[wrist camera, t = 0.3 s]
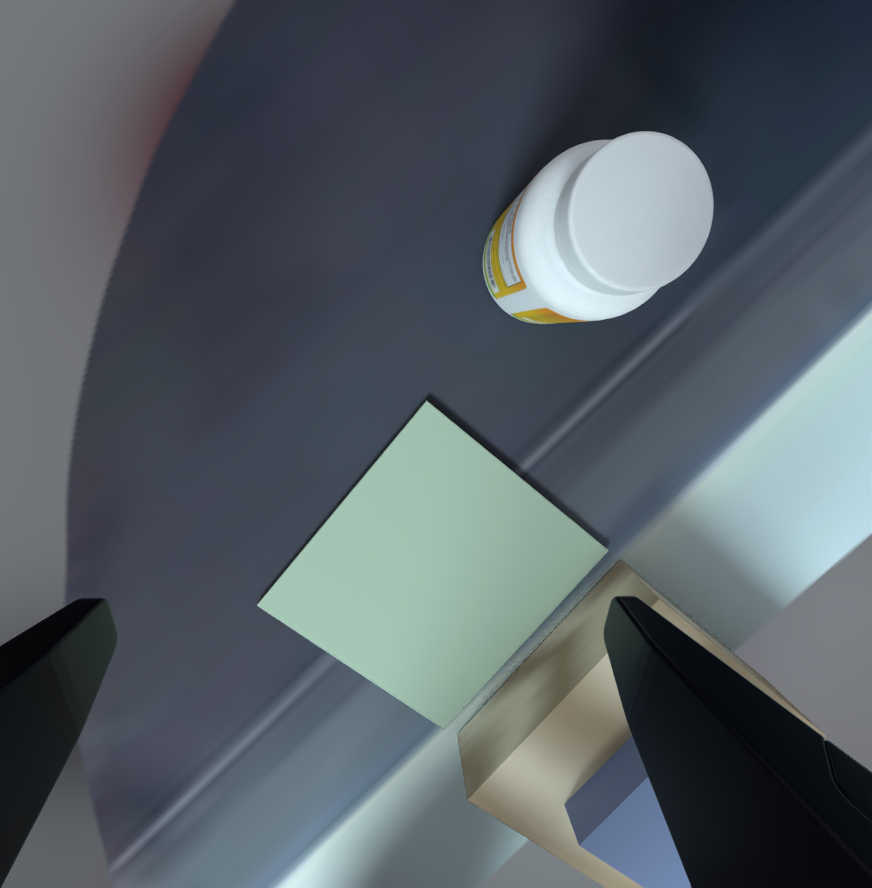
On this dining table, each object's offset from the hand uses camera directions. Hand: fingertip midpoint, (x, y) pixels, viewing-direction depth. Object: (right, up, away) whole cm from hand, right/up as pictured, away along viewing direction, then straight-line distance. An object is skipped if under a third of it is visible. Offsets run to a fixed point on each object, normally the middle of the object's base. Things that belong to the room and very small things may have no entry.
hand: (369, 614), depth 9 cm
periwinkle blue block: (+12, -13, +15) cm, 23 cm away
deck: (+11, -11, +19) cm, 25 cm away
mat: (+1, -3, +16) cm, 17 cm away
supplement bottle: (+6, +11, +14) cm, 19 cm away
